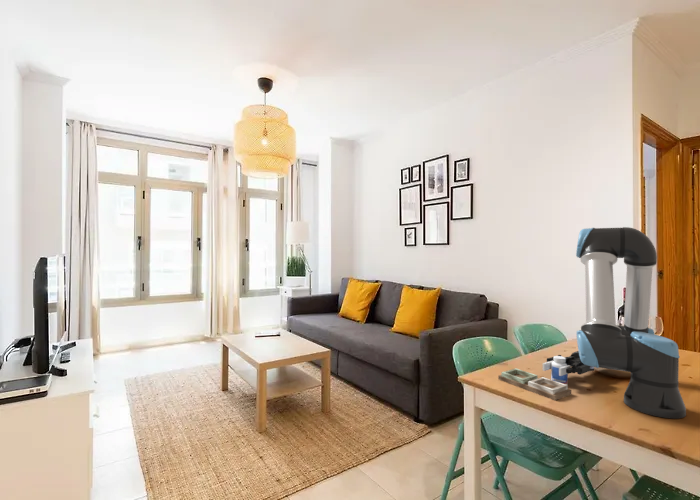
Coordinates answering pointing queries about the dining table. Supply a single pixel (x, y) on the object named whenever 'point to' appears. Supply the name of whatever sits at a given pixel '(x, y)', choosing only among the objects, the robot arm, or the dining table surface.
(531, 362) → the dining table surface
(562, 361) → the pill bottle
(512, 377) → the board
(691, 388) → the dining table surface
